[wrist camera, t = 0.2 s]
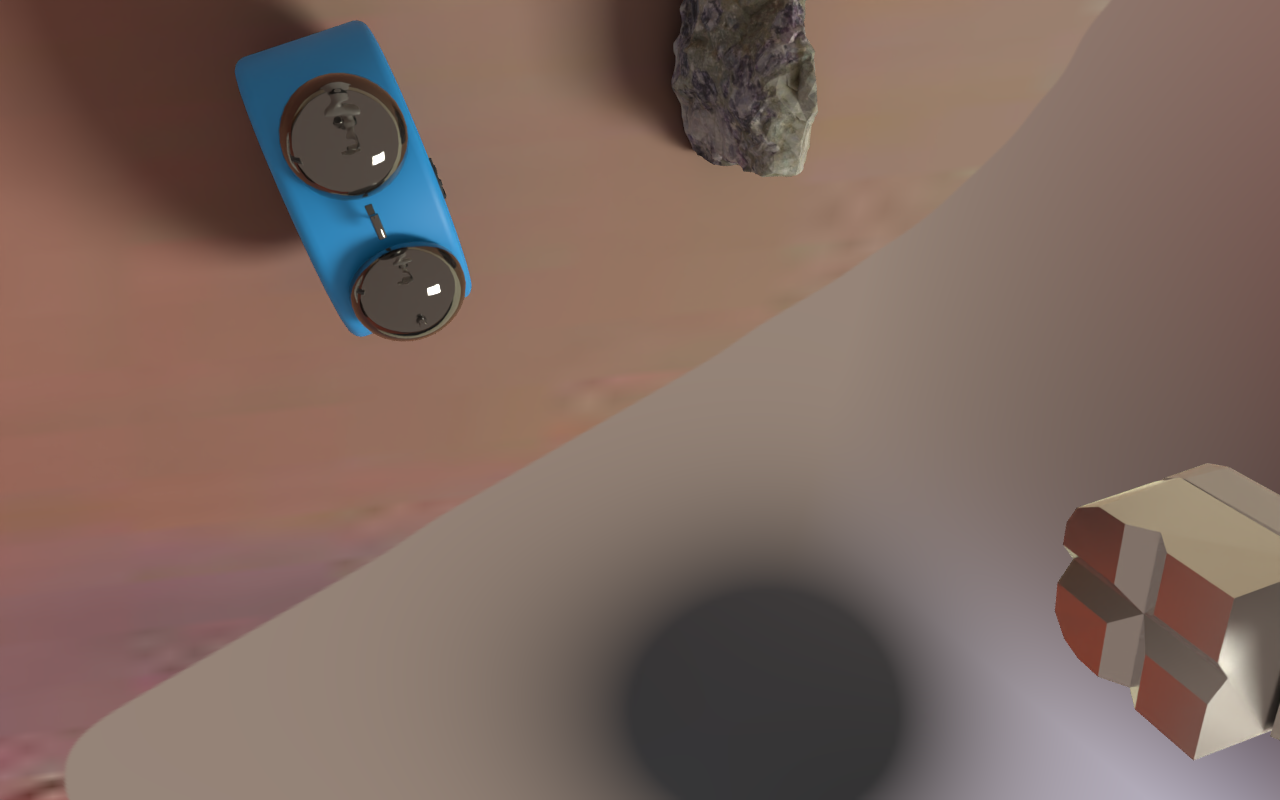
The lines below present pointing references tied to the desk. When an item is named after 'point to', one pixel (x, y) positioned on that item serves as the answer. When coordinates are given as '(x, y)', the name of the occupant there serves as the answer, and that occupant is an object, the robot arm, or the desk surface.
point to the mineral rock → (746, 83)
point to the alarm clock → (357, 181)
